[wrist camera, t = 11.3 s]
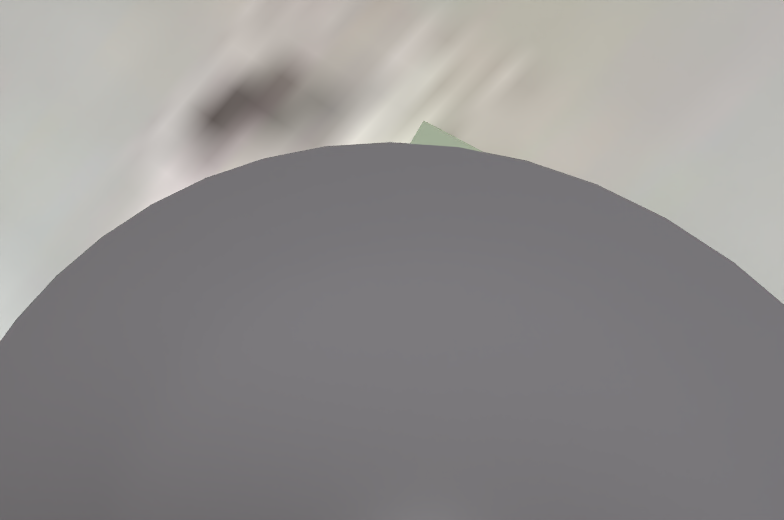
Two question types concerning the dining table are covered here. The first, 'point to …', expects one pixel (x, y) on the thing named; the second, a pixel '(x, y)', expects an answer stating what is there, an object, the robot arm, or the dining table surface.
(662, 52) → the dining table surface
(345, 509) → the parts canister
